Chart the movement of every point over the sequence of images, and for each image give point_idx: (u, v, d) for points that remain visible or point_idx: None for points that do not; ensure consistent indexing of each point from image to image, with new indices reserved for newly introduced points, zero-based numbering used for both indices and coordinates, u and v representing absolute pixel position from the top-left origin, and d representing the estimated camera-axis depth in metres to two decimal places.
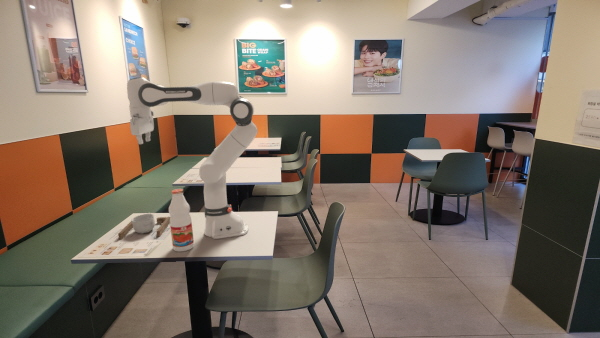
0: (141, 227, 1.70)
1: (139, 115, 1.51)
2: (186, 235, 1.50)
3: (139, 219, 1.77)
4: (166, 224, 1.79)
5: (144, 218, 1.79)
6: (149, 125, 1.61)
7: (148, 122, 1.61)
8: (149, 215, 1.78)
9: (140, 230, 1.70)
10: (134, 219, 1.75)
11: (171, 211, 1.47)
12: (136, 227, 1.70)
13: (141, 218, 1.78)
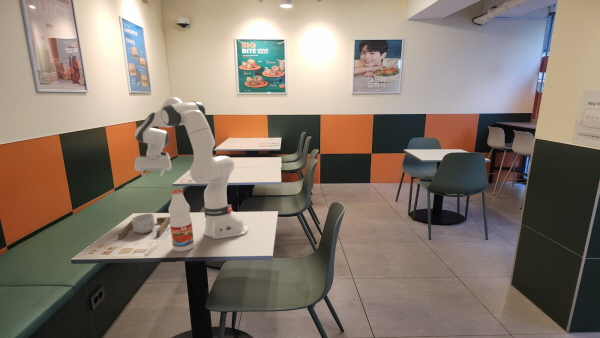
0: (141, 227, 1.70)
1: None
2: (186, 235, 1.50)
3: (139, 219, 1.77)
4: (166, 224, 1.79)
5: (144, 218, 1.79)
6: (161, 162, 1.96)
7: (160, 161, 1.97)
8: (149, 215, 1.78)
9: (140, 230, 1.70)
10: (134, 219, 1.75)
11: (171, 211, 1.47)
12: (136, 227, 1.70)
13: (141, 218, 1.78)
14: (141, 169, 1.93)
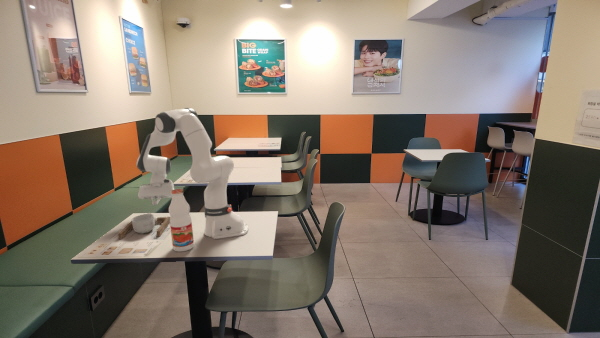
0: (141, 227, 1.70)
1: (150, 184, 1.97)
2: (186, 235, 1.50)
3: (139, 219, 1.77)
4: (166, 224, 1.79)
5: (144, 218, 1.79)
6: (164, 190, 1.95)
7: (163, 188, 1.96)
8: (149, 215, 1.78)
9: (140, 230, 1.70)
10: (134, 219, 1.75)
11: (171, 211, 1.47)
12: (136, 227, 1.70)
13: (141, 218, 1.78)
14: (152, 197, 1.93)
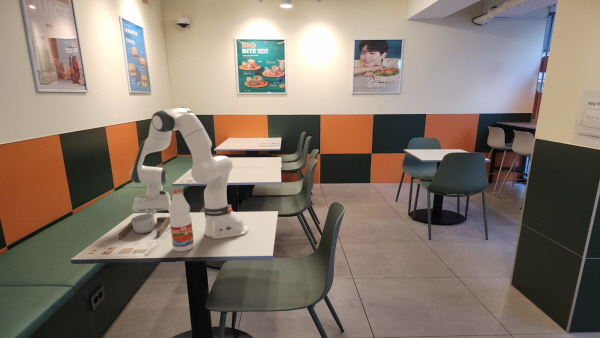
0: (141, 227, 1.69)
1: (145, 196, 1.89)
2: (186, 235, 1.50)
3: (139, 219, 1.77)
4: (166, 224, 1.79)
5: (144, 218, 1.78)
6: (159, 202, 1.86)
7: (159, 200, 1.87)
8: (149, 215, 1.78)
9: (140, 230, 1.70)
10: (134, 219, 1.75)
11: (171, 211, 1.47)
12: (136, 227, 1.69)
13: (141, 218, 1.78)
14: (147, 210, 1.84)
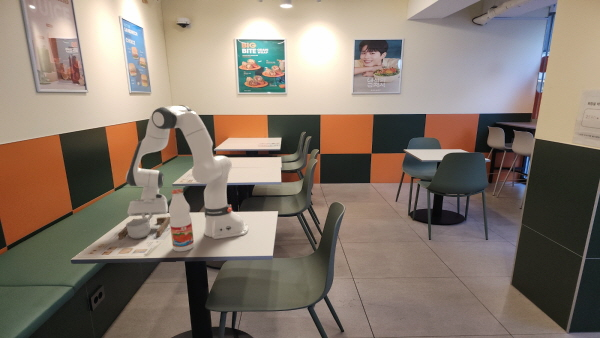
0: (136, 232, 1.63)
1: (140, 199, 1.82)
2: (186, 234, 1.50)
3: (134, 224, 1.71)
4: (166, 224, 1.79)
5: (139, 223, 1.72)
6: (156, 206, 1.80)
7: (155, 204, 1.81)
8: (145, 219, 1.72)
9: (135, 235, 1.63)
10: (129, 224, 1.68)
11: (171, 211, 1.47)
12: (131, 232, 1.63)
13: (136, 223, 1.71)
14: (142, 214, 1.78)
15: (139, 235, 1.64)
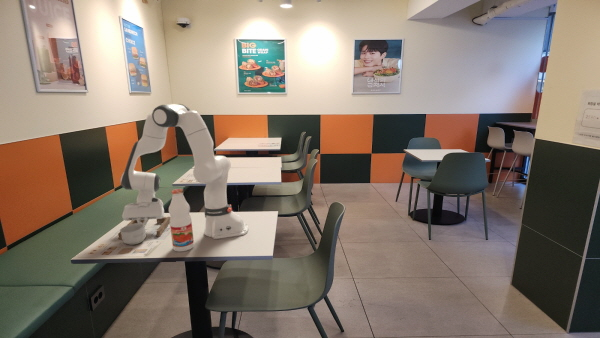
0: (131, 238, 1.56)
1: None
2: (186, 234, 1.50)
3: (129, 229, 1.64)
4: (166, 224, 1.79)
5: (134, 228, 1.65)
6: (152, 210, 1.73)
7: (151, 208, 1.74)
8: (140, 224, 1.65)
9: (130, 241, 1.57)
10: (123, 229, 1.61)
11: (171, 211, 1.47)
12: (125, 238, 1.56)
13: (131, 228, 1.65)
14: (138, 218, 1.71)
15: (134, 241, 1.57)
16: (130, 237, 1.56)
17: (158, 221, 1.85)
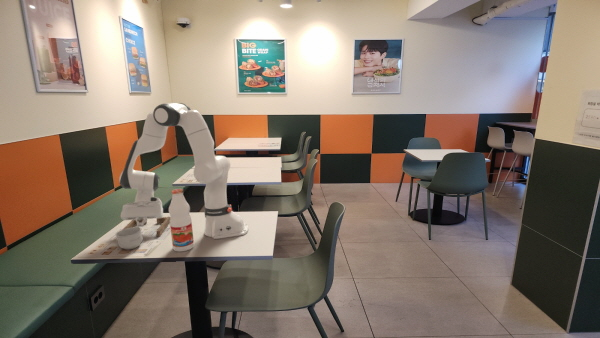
0: (127, 243, 1.52)
1: (134, 203, 1.74)
2: (186, 234, 1.50)
3: (125, 233, 1.60)
4: (166, 224, 1.79)
5: (131, 232, 1.61)
6: (150, 210, 1.72)
7: (150, 208, 1.73)
8: (136, 228, 1.60)
9: (126, 246, 1.52)
10: (119, 233, 1.57)
11: (171, 211, 1.47)
12: (121, 243, 1.52)
13: (127, 232, 1.60)
14: (136, 218, 1.70)
15: (130, 245, 1.53)
16: (126, 241, 1.52)
17: (158, 221, 1.85)
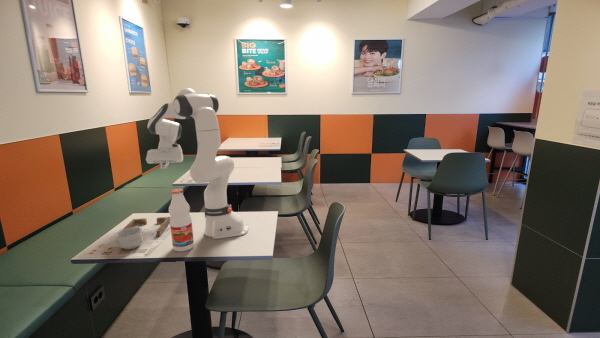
0: (127, 243, 1.52)
1: (158, 149, 1.95)
2: (186, 234, 1.50)
3: (125, 233, 1.60)
4: (166, 224, 1.79)
5: (131, 232, 1.61)
6: (172, 154, 1.92)
7: (172, 153, 1.93)
8: (136, 228, 1.60)
9: (126, 246, 1.52)
10: (119, 233, 1.57)
11: (171, 211, 1.47)
12: (121, 243, 1.52)
13: (127, 232, 1.60)
14: (160, 161, 1.90)
15: (130, 245, 1.53)
16: (126, 241, 1.52)
17: (158, 221, 1.85)
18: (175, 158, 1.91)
